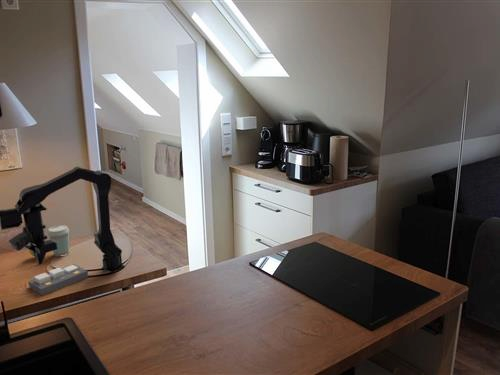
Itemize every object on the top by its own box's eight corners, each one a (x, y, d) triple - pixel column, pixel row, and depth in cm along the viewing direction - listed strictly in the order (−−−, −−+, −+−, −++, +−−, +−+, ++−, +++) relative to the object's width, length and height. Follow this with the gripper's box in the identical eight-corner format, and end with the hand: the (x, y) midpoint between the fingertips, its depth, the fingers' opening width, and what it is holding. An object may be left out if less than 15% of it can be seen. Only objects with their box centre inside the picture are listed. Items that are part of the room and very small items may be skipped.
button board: (74, 269, 174) (73, 263, 174) (88, 276, 168) (87, 270, 168) (29, 287, 161) (28, 280, 160) (42, 295, 155) (41, 288, 154)
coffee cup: (68, 248, 195) (64, 223, 192) (75, 254, 189) (71, 228, 186) (48, 253, 190) (44, 228, 187) (54, 260, 184) (50, 233, 180)
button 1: (45, 277, 163) (44, 272, 163) (50, 280, 161) (50, 275, 160) (34, 281, 160) (34, 276, 160) (40, 284, 158) (39, 279, 157)
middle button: (59, 272, 167) (58, 267, 167) (65, 275, 165) (64, 270, 164) (49, 276, 164) (48, 271, 164) (54, 279, 162) (54, 274, 161)
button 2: (73, 269, 172) (72, 264, 171) (78, 272, 169) (78, 267, 169) (63, 273, 169) (63, 268, 168) (69, 276, 166) (68, 271, 166)
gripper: (-2, 224, 155) (6, 264, 159) (22, 236, 143) (29, 279, 147) (30, 216, 163) (36, 254, 167) (55, 226, 151) (61, 267, 155)
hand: (40, 263), depth 159 cm, fingers closed
